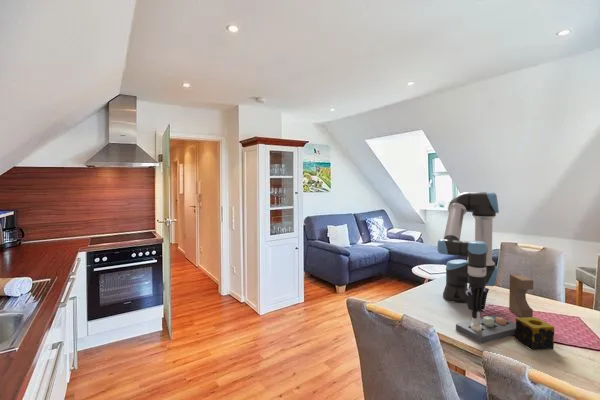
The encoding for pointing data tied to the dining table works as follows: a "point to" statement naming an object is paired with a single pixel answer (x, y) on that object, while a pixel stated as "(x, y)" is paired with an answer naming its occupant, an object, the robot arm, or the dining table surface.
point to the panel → (487, 330)
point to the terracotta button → (501, 321)
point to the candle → (534, 333)
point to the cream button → (476, 327)
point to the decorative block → (520, 295)
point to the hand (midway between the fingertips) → (476, 324)
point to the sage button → (488, 322)
